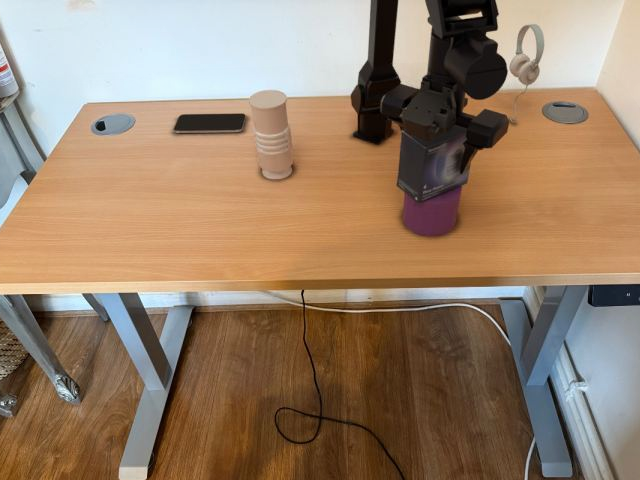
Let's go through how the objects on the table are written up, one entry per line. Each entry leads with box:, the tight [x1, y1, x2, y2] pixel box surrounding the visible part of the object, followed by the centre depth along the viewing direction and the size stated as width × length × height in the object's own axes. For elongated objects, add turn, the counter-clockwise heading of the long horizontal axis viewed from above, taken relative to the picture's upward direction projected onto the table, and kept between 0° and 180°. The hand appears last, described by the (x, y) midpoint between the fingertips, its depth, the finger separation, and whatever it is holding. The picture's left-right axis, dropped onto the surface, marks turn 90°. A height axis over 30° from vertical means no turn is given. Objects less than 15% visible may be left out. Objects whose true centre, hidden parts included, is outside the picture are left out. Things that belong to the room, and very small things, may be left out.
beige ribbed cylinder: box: [248, 89, 294, 180], centre depth 100 cm, size 7×7×15 cm
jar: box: [402, 185, 463, 237], centre depth 91 cm, size 9×9×7 cm
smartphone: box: [173, 112, 247, 134], centre depth 118 cm, size 7×1×15 cm
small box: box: [396, 125, 472, 204], centre depth 85 cm, size 11×6×10 cm, turn 122°
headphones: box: [508, 23, 545, 124], centre depth 108 cm, size 8×4×20 cm, turn 13°
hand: (436, 163), depth 85 cm, fingers open, 9 cm apart
